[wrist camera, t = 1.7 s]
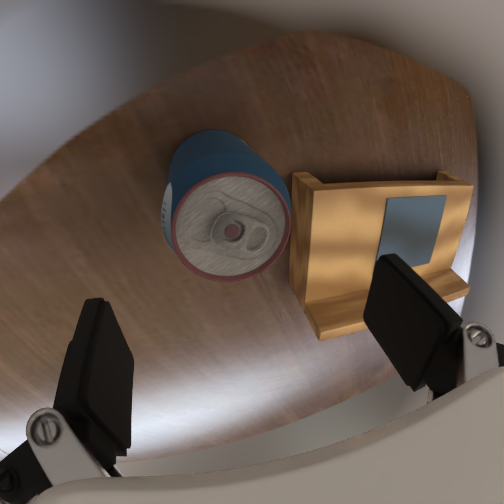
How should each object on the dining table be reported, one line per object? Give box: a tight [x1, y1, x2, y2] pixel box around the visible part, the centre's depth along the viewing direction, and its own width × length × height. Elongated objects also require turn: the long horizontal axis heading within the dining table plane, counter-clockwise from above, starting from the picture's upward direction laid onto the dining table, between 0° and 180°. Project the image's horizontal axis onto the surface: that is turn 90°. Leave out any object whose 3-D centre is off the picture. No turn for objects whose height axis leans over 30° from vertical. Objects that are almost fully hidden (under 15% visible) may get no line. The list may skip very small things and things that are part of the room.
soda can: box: [161, 130, 291, 282], centre depth 19 cm, size 7×7×12 cm
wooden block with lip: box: [289, 171, 474, 341], centre depth 26 cm, size 12×20×9 cm, turn 92°
